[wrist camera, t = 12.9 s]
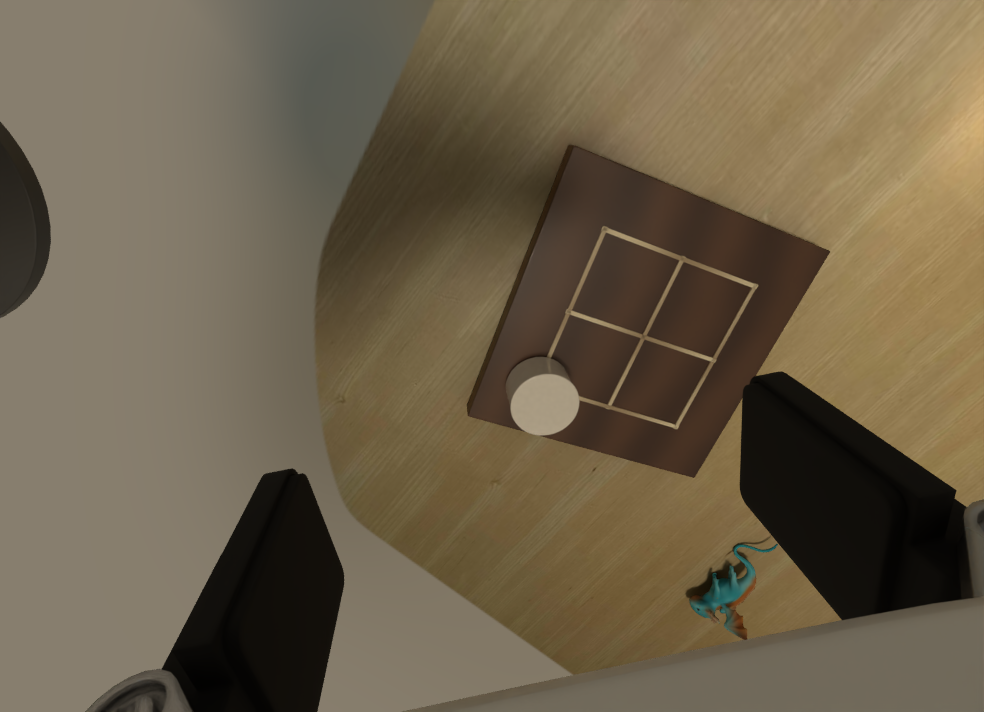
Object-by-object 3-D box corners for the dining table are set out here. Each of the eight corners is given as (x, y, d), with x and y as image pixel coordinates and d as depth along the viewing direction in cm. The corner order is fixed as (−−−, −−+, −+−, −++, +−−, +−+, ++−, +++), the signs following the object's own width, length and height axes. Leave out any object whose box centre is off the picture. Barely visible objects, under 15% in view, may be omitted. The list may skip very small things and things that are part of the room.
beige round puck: (495, 405, 38) (500, 425, 36) (519, 348, 37) (526, 365, 34) (554, 421, 39) (563, 443, 37) (579, 366, 38) (590, 385, 35)
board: (466, 406, 40) (467, 417, 38) (568, 144, 33) (574, 145, 32) (686, 467, 44) (695, 479, 43) (816, 247, 37) (832, 251, 36)
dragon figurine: (695, 543, 46) (691, 632, 46) (787, 556, 44) (782, 649, 44) (689, 522, 53) (686, 600, 53) (769, 532, 50) (765, 614, 50)
